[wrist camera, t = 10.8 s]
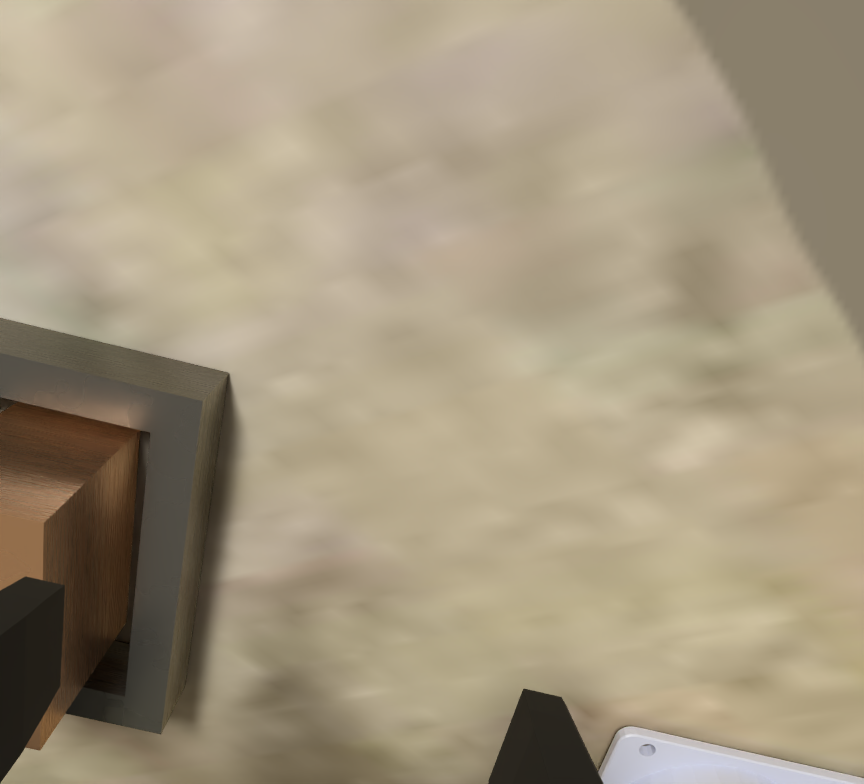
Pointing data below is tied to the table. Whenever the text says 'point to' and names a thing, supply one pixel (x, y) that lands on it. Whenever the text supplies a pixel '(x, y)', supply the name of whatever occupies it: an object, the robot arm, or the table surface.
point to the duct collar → (163, 500)
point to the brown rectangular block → (69, 529)
